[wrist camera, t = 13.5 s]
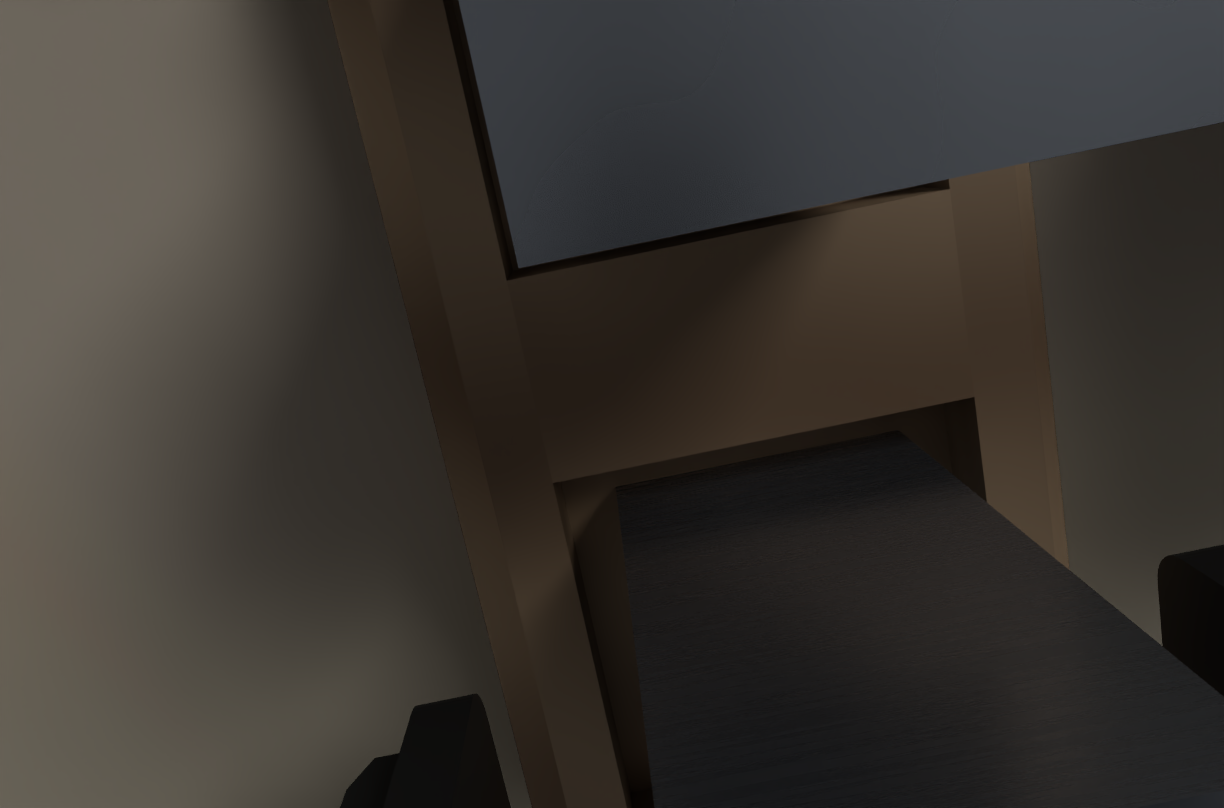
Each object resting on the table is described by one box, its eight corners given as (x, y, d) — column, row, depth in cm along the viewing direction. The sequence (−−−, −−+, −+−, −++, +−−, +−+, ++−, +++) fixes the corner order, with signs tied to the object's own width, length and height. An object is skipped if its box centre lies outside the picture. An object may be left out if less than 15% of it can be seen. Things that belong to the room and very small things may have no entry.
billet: (615, 486, 14) (664, 900, 6) (898, 429, 14) (1315, 772, 6) (667, 737, 15) (769, 1376, 7) (932, 685, 15) (1333, 1268, 7)
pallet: (305, -180, 13) (236, -267, 10) (931, -315, 13) (1020, -436, 10) (548, 795, 17) (541, 914, 14) (1042, 697, 16) (1129, 798, 14)
